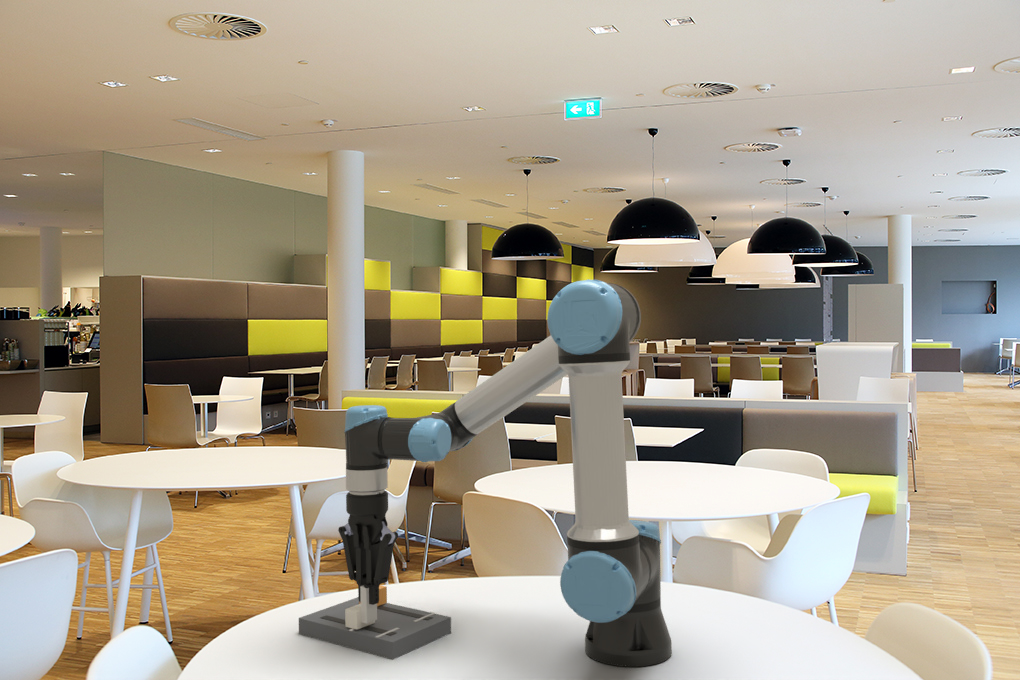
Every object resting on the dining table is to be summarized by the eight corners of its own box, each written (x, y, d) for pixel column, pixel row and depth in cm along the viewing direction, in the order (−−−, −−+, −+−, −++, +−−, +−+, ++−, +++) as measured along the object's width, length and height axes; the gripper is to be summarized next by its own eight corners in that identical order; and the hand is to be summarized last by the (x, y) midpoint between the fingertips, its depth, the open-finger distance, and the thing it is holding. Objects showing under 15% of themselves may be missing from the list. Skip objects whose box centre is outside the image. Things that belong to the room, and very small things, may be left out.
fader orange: (386, 602, 173) (386, 586, 173) (370, 608, 169) (370, 592, 169) (375, 600, 175) (375, 584, 175) (359, 606, 171) (359, 590, 171)
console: (451, 633, 165) (450, 616, 165) (392, 659, 152) (392, 641, 152) (359, 611, 179) (359, 596, 179) (298, 633, 166) (298, 617, 165)
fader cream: (375, 622, 161) (375, 605, 161) (357, 629, 158) (357, 611, 158) (363, 619, 163) (363, 602, 163) (345, 626, 159) (345, 609, 159)
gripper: (407, 491, 158) (409, 621, 158) (356, 484, 166) (358, 609, 166) (378, 497, 152) (380, 633, 152) (326, 490, 160) (328, 620, 160)
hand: (369, 620), depth 159 cm, fingers closed
